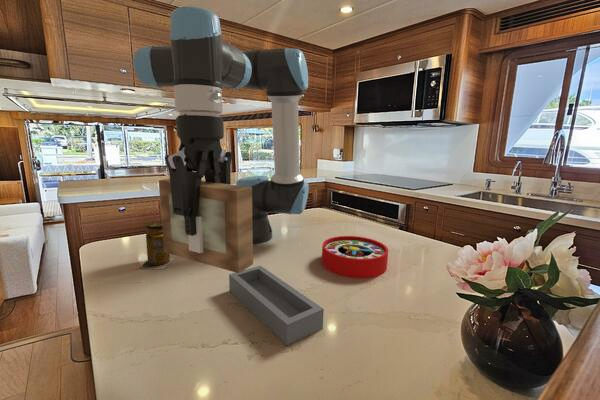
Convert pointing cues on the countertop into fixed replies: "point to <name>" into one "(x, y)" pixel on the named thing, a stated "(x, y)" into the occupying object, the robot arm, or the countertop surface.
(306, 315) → the charcoal tray
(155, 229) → the condiment
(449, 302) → the countertop surface
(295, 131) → the robot arm
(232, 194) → the walnut frame
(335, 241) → the toy clock
